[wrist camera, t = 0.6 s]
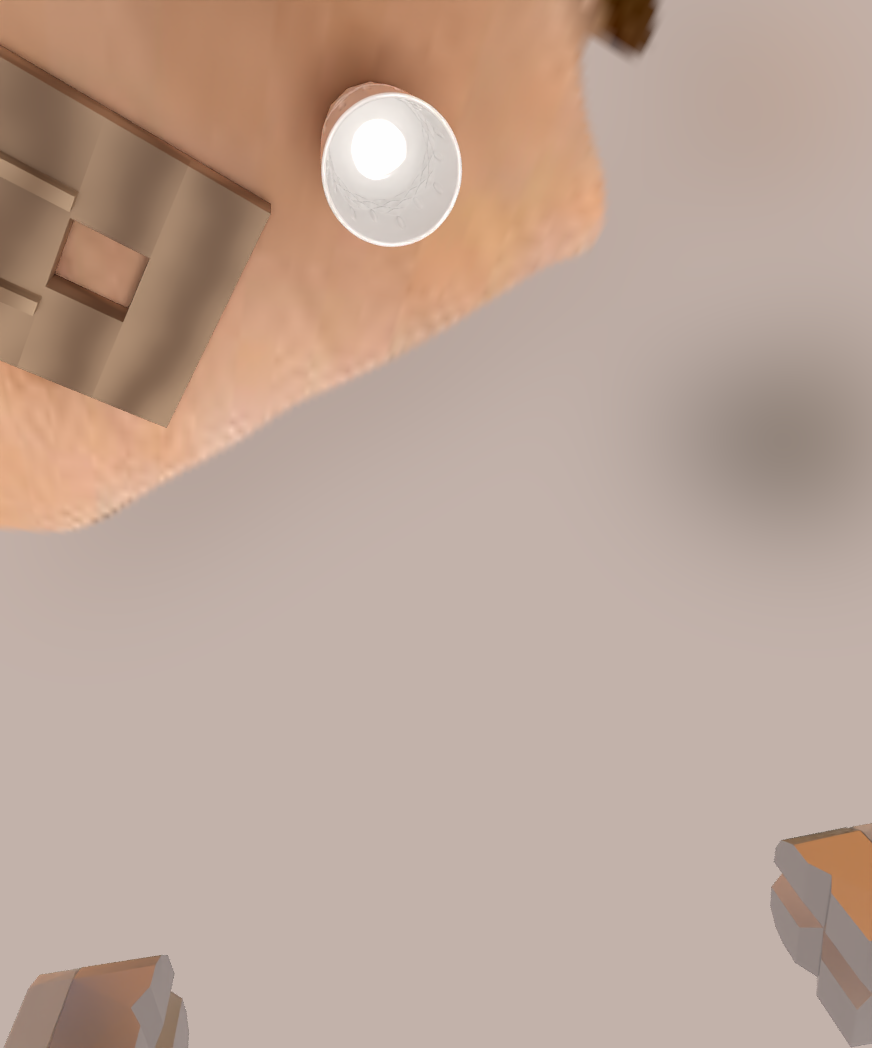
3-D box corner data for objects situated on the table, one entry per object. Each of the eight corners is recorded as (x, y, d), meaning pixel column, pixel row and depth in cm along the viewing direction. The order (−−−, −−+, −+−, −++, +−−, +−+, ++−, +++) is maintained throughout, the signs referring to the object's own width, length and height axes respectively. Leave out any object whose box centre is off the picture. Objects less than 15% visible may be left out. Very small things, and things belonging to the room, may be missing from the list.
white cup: (402, 221, 51) (425, 267, 44) (296, 173, 48) (301, 213, 40) (450, 106, 48) (486, 134, 40) (338, 46, 44) (353, 63, 37)
